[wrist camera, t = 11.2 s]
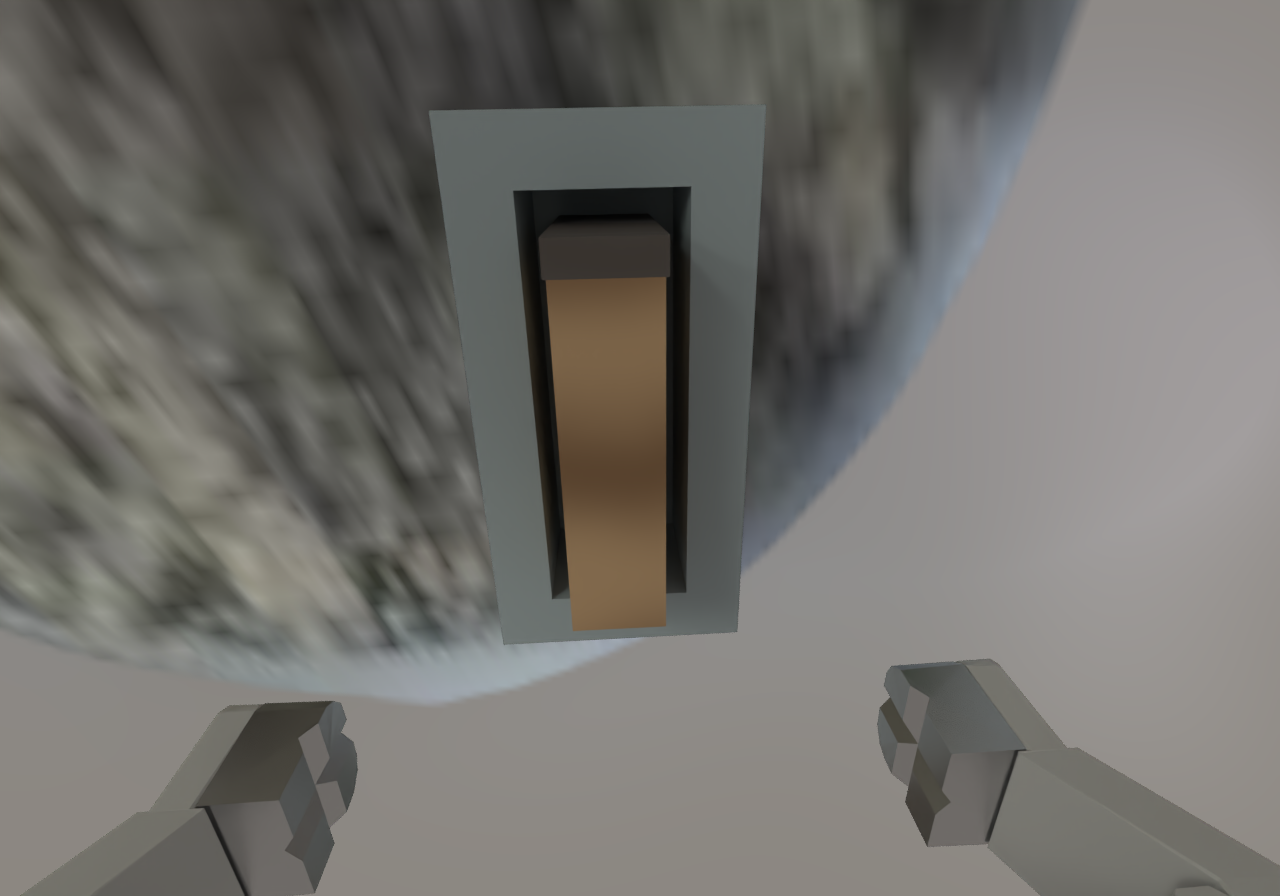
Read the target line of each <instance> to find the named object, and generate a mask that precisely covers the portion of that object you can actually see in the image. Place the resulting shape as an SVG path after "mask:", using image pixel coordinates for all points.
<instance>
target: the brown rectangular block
mask: <svg viewBox="0 0 1280 896" xmlns="http://www.w3.org/2000/svg"><path fill="white" fill-rule="evenodd" d="M538 240H539V253H540V266H541V278H542V280H546V290H547V303H548V316H549V329H550V342H551V355H552V368H553V381H554V394H555V407H556V420H557V433H558V446H559V459H560V472H561V485H562V498H563V511H564V524H565V537H566V550H567V563H568V576H569V589H570V602H571V615H572V628H573V631H585V630H605V629H625V628H645V627H665V626H666V277H670V234H669V233H668V232H667V231H666V230H665V229H664V228H663V227H662V226H661V225H660V224H659V223H658V222H657V221H655V220H654V219H653V218H652V217H651V216H650V215H649V214H601V215H559V216H558V217H557V218H556V219H555V221H554V222H553V223H552V224H551V225H550V226H549V227H548V228H547V229H546V230H545V231H544V232H543V233H542V235H541V236H540V237H539V238H538Z"/></svg>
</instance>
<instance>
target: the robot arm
mask: <svg viewBox="0 0 1280 896" xmlns="http://www.w3.org/2000/svg"><path fill="white" fill-rule="evenodd" d="M884 686H885V688H886V690H887V692H888V694H889V696H890V698H889V699H888V700H887V701H886V702H885V703H884V704H883V705H882V706H881V707H880V710H879V717H878V724H877V725H878V733H879V741H880V746H881V749H882V752H883V755H884V758H885V760H886V763H887V764H888V767H889V769H890V771H891V773H892V774H893V775H894V776H895V777H897V778H898V779H899V780H900V781H902V782H903V783H904V784H906V785H907V786H908V791H907V796H906V801H905V802H906V805H907V806H908V809H909V810H910V813H911V815H912V817H913V819H914V821H915V823H916V825H917V827H918V829H919V831H920V833H921V835H922V837H923V839H924V841H925V843H926V845H927V847H934V846H956V845H978V844H988V848H989V849H990V850H991V851H992V852H993V853H994V854H995V855H996V856H997V857H999V858H1000V859H1001V860H1002V861H1003V862H1004V863H1005V864H1006V865H1007V866H1009V867H1010V868H1011V869H1012V870H1013V871H1014V872H1015V873H1017V875H1018V876H1020V877H1021V878H1022V879H1023V880H1024V881H1025V882H1026V883H1027V884H1028V885H1030V886H1031V887H1032V888H1033V889H1034V890H1035V891H1036V892H1037V893H1038V894H1040V895H1041V896H1280V866H1279V865H1277V864H1276V863H1274V862H1272V861H1271V860H1269V859H1267V858H1265V857H1264V856H1262V855H1260V854H1259V853H1257V852H1255V851H1253V850H1252V849H1250V848H1248V847H1247V846H1245V845H1243V844H1241V843H1240V842H1238V841H1236V840H1235V839H1233V838H1231V837H1230V836H1228V835H1226V834H1224V833H1223V832H1221V831H1219V830H1218V829H1216V828H1214V827H1212V826H1211V825H1209V824H1207V823H1206V822H1204V821H1202V820H1200V819H1199V818H1197V817H1195V816H1194V815H1192V814H1190V813H1188V812H1187V811H1185V810H1183V809H1182V808H1180V807H1178V806H1176V805H1175V804H1173V803H1171V802H1170V801H1168V800H1166V799H1164V798H1163V797H1161V796H1159V795H1158V794H1156V793H1154V792H1153V791H1151V790H1149V789H1147V788H1146V787H1144V786H1142V785H1141V784H1139V783H1137V782H1135V781H1134V780H1132V779H1130V778H1129V777H1127V776H1125V775H1123V774H1122V773H1120V772H1118V771H1116V770H1115V769H1113V768H1111V767H1110V766H1108V765H1106V764H1104V763H1103V762H1101V761H1099V760H1098V759H1096V758H1094V757H1093V756H1091V755H1089V754H1087V753H1086V752H1084V751H1082V750H1081V749H1079V748H1067V747H1066V746H1065V745H1064V744H1063V743H1062V741H1061V740H1060V739H1059V738H1058V736H1057V735H1056V734H1055V733H1054V732H1053V730H1052V729H1051V728H1050V727H1049V726H1048V724H1047V723H1046V722H1045V721H1044V719H1043V718H1042V717H1041V716H1040V715H1039V713H1038V712H1037V711H1036V709H1035V708H1034V707H1033V706H1032V705H1031V703H1030V702H1029V701H1028V700H1027V698H1026V697H1025V696H1024V695H1023V693H1022V692H1021V691H1020V690H1019V689H1018V687H1017V686H1016V685H1015V684H1014V682H1013V681H1012V680H1011V679H1010V677H1008V675H1007V674H1006V673H1005V671H1004V670H1003V669H1002V668H1001V666H1000V665H999V664H998V663H996V662H994V661H993V660H991V659H980V660H967V661H957V662H939V663H925V664H911V665H898V666H891V667H890V669H889V670H888V672H887V673H886V678H885V683H884ZM346 720H347V719H346V716H345V713H344V710H343V707H342V705H341V703H340V702H335V701H319V702H292V703H267V704H266V703H265V704H257V705H230V706H228V707H227V708H225V709H223V710H222V711H220V712H219V713H218V714H217V715H216V717H215V718H214V720H213V721H212V722H211V724H210V725H209V727H208V728H207V730H206V731H205V732H204V734H203V735H202V737H201V738H200V739H199V741H198V742H197V744H196V745H195V747H194V748H193V750H192V751H191V752H190V754H189V755H188V757H187V758H186V759H185V761H184V762H183V764H182V765H181V767H180V768H179V770H178V771H177V772H176V774H175V775H174V777H173V778H172V779H171V781H170V782H169V784H168V785H167V787H166V788H165V790H164V791H163V792H162V794H161V795H160V797H159V798H158V799H157V801H156V802H155V804H154V805H153V807H152V808H151V809H150V811H149V812H138V813H136V814H134V815H133V816H132V817H130V818H129V819H127V820H126V821H125V822H123V823H122V824H120V825H119V826H117V827H116V828H115V829H113V830H112V831H110V832H109V833H108V834H106V835H105V836H103V837H102V838H101V839H99V840H98V841H96V842H95V843H94V844H92V845H91V846H89V847H88V848H87V849H85V850H84V851H82V852H81V853H79V854H78V855H77V856H75V857H74V858H72V859H71V860H70V861H68V862H67V863H65V864H64V865H63V866H61V867H60V868H58V869H57V870H56V871H54V872H53V873H52V874H50V875H48V876H47V877H46V878H44V879H43V880H41V881H40V882H39V883H37V884H36V885H34V886H33V887H32V888H30V889H29V890H27V891H26V892H25V893H23V894H22V895H20V896H294V895H304V894H313V893H315V891H316V889H317V886H318V884H319V881H320V879H321V876H322V874H323V871H324V868H325V866H326V863H327V861H328V858H329V856H330V853H331V851H332V848H333V846H334V840H333V837H332V834H331V831H330V827H331V826H332V825H333V824H334V823H335V822H336V821H337V820H338V819H340V818H341V817H342V816H343V815H344V814H345V813H346V812H347V810H348V807H349V804H350V802H351V799H352V796H353V793H354V789H355V783H356V776H357V771H358V768H357V753H356V750H355V746H354V742H353V741H352V740H350V739H349V738H347V737H346V736H345V735H344V734H342V733H341V731H342V729H343V727H344V724H345V722H346Z"/></svg>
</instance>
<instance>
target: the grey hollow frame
mask: <svg viewBox="0 0 1280 896" xmlns="http://www.w3.org/2000/svg"><path fill="white" fill-rule="evenodd" d="M429 117H430V124H431V131H432V138H433V145H434V152H435V159H436V166H437V174H438V181H439V188H440V195H441V202H442V209H443V216H444V223H445V231H446V238H447V245H448V252H449V259H450V266H451V273H452V280H453V288H454V295H455V302H456V309H457V316H458V323H459V330H460V337H461V345H462V352H463V359H464V366H465V373H466V380H467V387H468V394H469V401H470V409H471V416H472V423H473V430H474V437H475V444H476V451H477V458H478V466H479V473H480V480H481V487H482V494H483V501H484V508H485V515H486V523H487V530H488V537H489V544H490V551H491V558H492V565H493V572H494V580H495V587H496V594H497V601H498V608H499V615H500V622H501V629H502V636H503V644H504V645H505V644H524V643H543V642H561V641H580V640H599V639H617V638H636V637H654V636H673V635H691V634H710V633H728V632H737V627H738V609H739V591H740V573H741V555H742V536H743V518H744V500H745V482H746V464H747V445H748V427H749V409H750V391H751V373H752V354H753V336H754V318H755V300H756V282H757V263H758V245H759V227H760V209H761V191H762V172H763V154H764V136H765V118H766V104H761V105H706V106H651V107H596V108H542V109H487V110H432V111H429ZM601 214H649V215H650V216H651V217H652V218H653V219H654V220H655V221H657V222H658V223H659V224H660V225H661V226H662V227H663V228H664V229H665V230H666V231H667V232H668V233H669V234H670V277H666V626H665V627H645V628H625V629H605V630H585V631H573V628H572V615H571V602H570V589H569V576H568V563H567V550H566V537H565V524H564V511H563V498H562V485H561V472H560V459H559V446H558V433H557V420H556V407H555V394H554V381H553V368H552V355H551V342H550V329H549V316H548V303H547V290H546V280H542V278H541V266H540V253H539V240H538V238H539V237H540V236H541V235H542V233H543V232H544V231H545V230H546V229H547V228H548V227H549V226H550V225H551V224H552V223H553V222H554V221H555V219H556V218H557V217H558V216H559V215H601Z"/></svg>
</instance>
